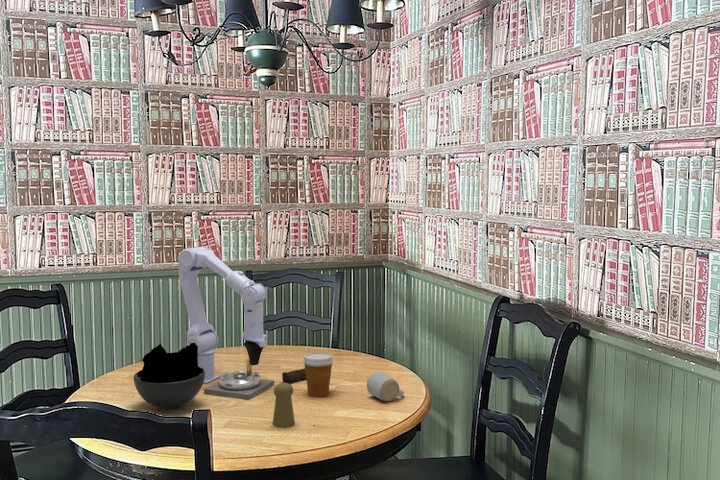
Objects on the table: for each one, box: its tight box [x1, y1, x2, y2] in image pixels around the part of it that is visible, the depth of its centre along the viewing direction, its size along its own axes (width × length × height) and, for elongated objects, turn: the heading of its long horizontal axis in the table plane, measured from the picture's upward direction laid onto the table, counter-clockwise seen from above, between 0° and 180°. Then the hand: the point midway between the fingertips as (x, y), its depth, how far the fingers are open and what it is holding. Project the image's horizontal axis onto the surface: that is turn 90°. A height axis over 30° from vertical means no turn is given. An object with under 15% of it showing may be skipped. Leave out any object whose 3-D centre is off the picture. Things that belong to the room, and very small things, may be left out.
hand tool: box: [281, 367, 306, 384], centre depth 224 cm, size 19×4×5 cm, turn 129°
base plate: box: [203, 378, 275, 401], centre depth 212 cm, size 16×16×2 cm
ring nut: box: [218, 358, 262, 390], centre depth 211 cm, size 13×13×6 cm
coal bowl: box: [133, 343, 205, 410], centre depth 194 cm, size 20×20×19 cm
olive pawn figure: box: [272, 382, 296, 429], centre depth 181 cm, size 6×6×11 cm
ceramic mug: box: [366, 370, 405, 402], centre depth 204 cm, size 11×8×8 cm
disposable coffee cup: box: [302, 352, 334, 398], centre depth 207 cm, size 10×10×12 cm
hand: (254, 364), depth 213 cm, fingers closed
